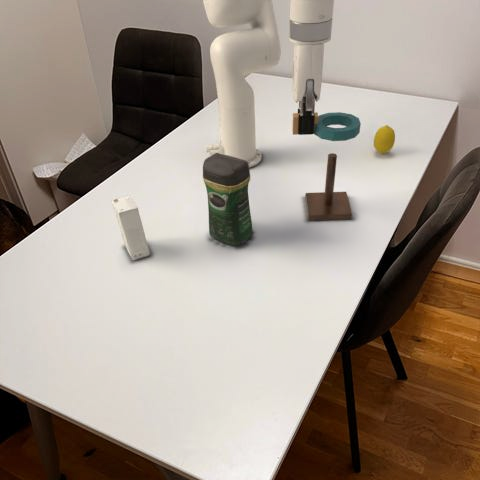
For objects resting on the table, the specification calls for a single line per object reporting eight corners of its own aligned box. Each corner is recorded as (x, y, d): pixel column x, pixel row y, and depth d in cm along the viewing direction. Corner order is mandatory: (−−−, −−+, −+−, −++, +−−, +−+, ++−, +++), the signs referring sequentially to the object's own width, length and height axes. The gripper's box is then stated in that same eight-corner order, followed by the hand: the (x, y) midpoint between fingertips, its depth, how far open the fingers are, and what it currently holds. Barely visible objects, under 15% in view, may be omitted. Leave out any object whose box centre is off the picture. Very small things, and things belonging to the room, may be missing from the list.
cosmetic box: (151, 255, 104) (140, 207, 95) (131, 261, 103) (118, 213, 94) (142, 240, 108) (131, 193, 99) (123, 246, 107) (110, 199, 98)
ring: (293, 142, 94) (294, 124, 92) (291, 123, 101) (291, 106, 98) (362, 140, 94) (364, 122, 91) (355, 121, 100) (357, 103, 98)
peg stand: (308, 220, 110) (311, 167, 101) (305, 198, 117) (308, 146, 108) (351, 219, 110) (358, 165, 100) (345, 196, 117) (352, 144, 107)
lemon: (390, 149, 133) (395, 121, 127) (393, 158, 129) (398, 129, 124) (370, 149, 134) (375, 121, 128) (372, 158, 130) (377, 130, 124)
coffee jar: (258, 233, 108) (256, 156, 94) (237, 251, 103) (232, 173, 90) (225, 220, 112) (218, 145, 99) (204, 237, 108) (194, 160, 94)
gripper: (287, 19, 90) (285, 116, 103) (291, 44, 79) (288, 149, 92) (326, 17, 90) (319, 114, 103) (336, 42, 78) (327, 148, 92)
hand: (305, 130), depth 97 cm, fingers closed on ring, 2 cm apart
